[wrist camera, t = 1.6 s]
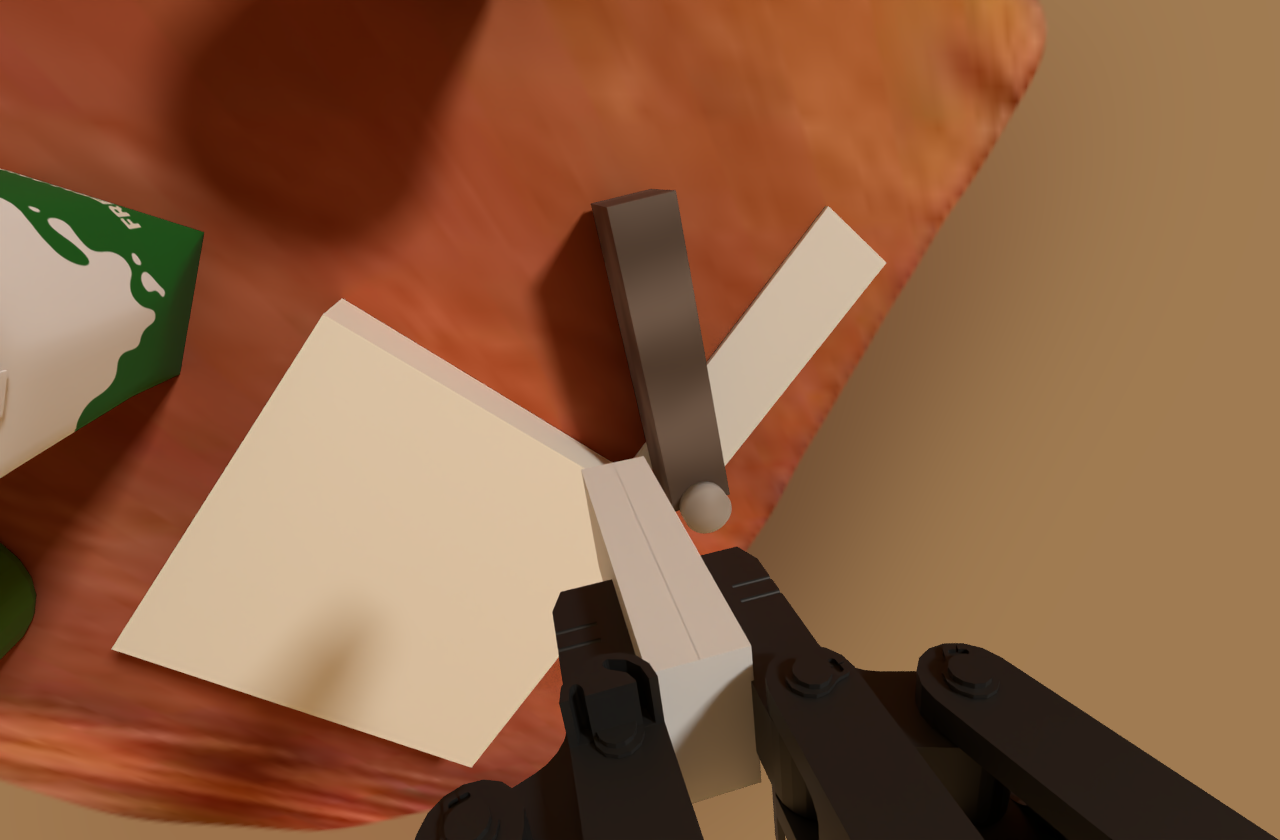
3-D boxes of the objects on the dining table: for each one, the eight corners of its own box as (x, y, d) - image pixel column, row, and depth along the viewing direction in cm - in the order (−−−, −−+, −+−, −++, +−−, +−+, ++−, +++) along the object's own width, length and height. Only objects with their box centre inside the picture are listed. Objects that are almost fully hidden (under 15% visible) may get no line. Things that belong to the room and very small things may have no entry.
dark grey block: (706, 478, 39) (739, 522, 34) (658, 493, 38) (684, 541, 33) (651, 188, 32) (681, 190, 27) (590, 203, 31) (611, 208, 26)
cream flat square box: (151, 598, 34) (111, 649, 30) (342, 298, 31) (323, 314, 27) (472, 716, 42) (471, 767, 38) (650, 485, 39) (668, 517, 35)
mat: (634, 456, 38) (635, 458, 37) (825, 206, 35) (828, 206, 34) (697, 496, 40) (699, 498, 39) (883, 262, 37) (886, 262, 36)
